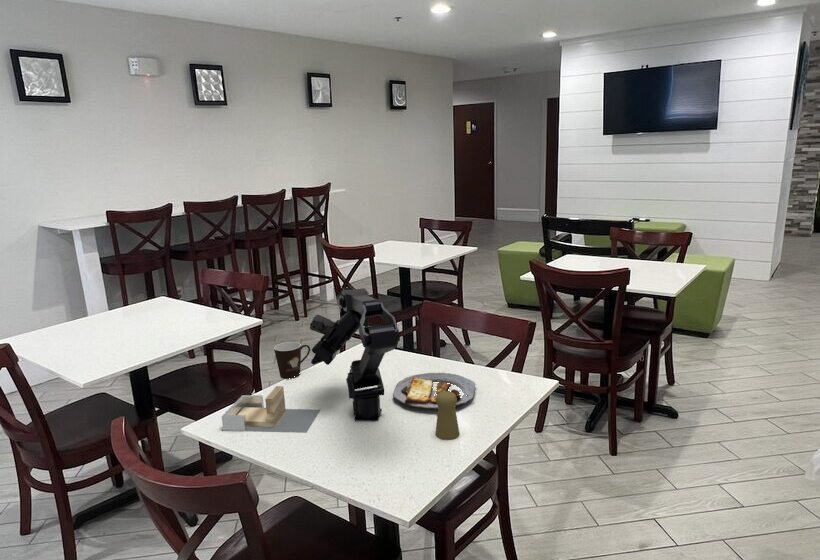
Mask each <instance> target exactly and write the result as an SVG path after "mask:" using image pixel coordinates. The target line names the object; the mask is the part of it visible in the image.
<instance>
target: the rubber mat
mask: <svg viewBox="0 0 820 560" xmlns="http://www.w3.org/2000/svg"><path fill="white" fill-rule="evenodd" d="M320 411H321V409H320V408H319V409H309V408H305V409H304V408H299V409H298V408H286V414H285V415H284V417H283V418H282V419H281V421H280V422H279V423H278V425H277V426H276V427H249V426H246V427H247V430H246V431H245V432H251V433H252V432H253V433H254V432H256V433H257V432H258V433H259V432H261V433H303V434H304V433H305V434H307V433H308V432H309V429H310V428H311V426H312V425H313V423H314V422H315V420H316V418H317V417H318V415H319V414H320ZM221 431H222V432H224V431H223V429H222V430H221Z"/></svg>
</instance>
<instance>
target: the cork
mask: <svg viewBox="0 0 820 560" xmlns="http://www.w3.org/2000/svg"><path fill="white" fill-rule="evenodd" d="M436 403H437V405H438V409H437V415H436V425H435V433H434V434H435V437H436V438H438V439H440V440H441V441H452V440H456V439H458V438H459V437H460V429H459V423H458V416H457V411H456V406H455V405H456V403H457V397H456V395H455V394H454V393H452V392H449V391H444V392H440V393H439V394H438V395H437V397H436Z"/></svg>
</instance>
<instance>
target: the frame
mask: <svg viewBox="0 0 820 560" xmlns="http://www.w3.org/2000/svg"><path fill="white" fill-rule="evenodd" d="M264 403H265V402H264V397H263V395H261V394H260V395H258V394H257V395H253V394H252V395H249V394H248V395H247V394H245V395H243V394H242V395H241V396H240V397H239V398H238V399H237V400H236V401H235V402H234V403H233V404H232V406H230V407H229V408H228V409H227V410H226V411H225V412H224V414H222V416H221V422H222V430H223V431H222V432H247V431H246V430H247V427H246V418H245V415H238V414H239V412H240V411H241V410H242V409H243V408H244V407H252V408H265V405H264Z"/></svg>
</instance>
